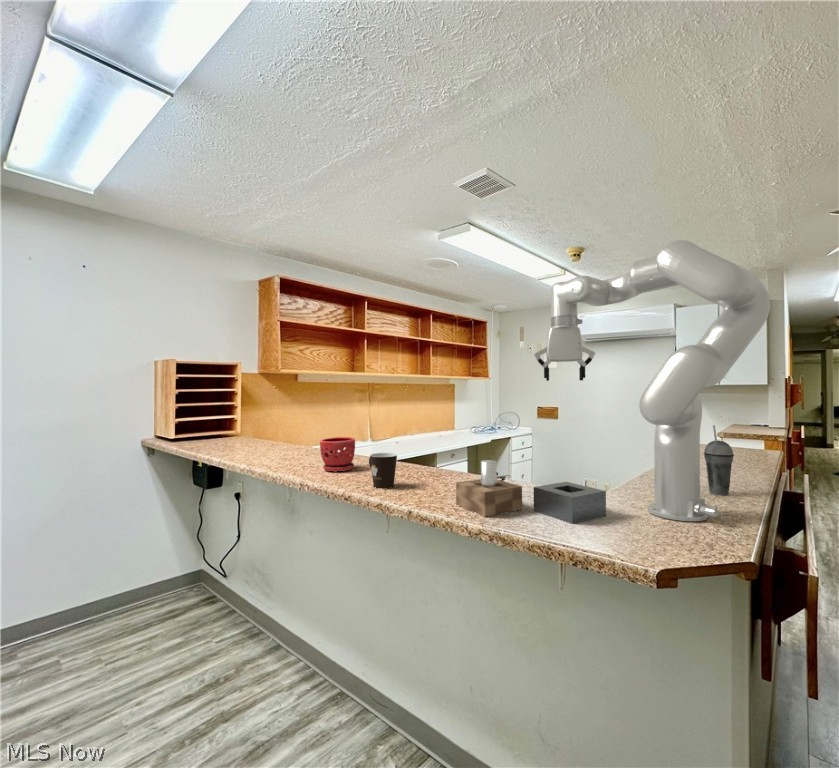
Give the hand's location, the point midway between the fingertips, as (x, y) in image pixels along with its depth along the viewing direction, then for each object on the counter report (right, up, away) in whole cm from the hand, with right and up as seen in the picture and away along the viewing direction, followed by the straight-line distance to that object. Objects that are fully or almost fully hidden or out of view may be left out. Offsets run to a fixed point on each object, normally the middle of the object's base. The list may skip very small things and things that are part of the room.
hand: (564, 380), depth 127 cm
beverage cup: (+44, -33, -4) cm, 55 cm away
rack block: (-26, -33, -17) cm, 45 cm away
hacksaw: (-18, -34, +13) cm, 40 cm away
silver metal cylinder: (-26, -33, -18) cm, 45 cm away
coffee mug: (-56, -34, +8) cm, 65 cm away
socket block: (-7, -33, -23) cm, 41 cm away
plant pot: (-75, -34, +34) cm, 89 cm away
